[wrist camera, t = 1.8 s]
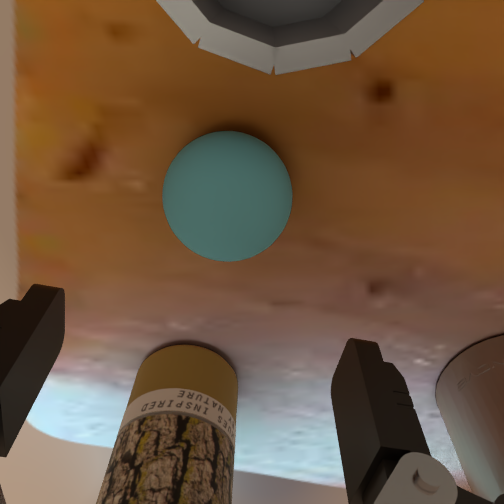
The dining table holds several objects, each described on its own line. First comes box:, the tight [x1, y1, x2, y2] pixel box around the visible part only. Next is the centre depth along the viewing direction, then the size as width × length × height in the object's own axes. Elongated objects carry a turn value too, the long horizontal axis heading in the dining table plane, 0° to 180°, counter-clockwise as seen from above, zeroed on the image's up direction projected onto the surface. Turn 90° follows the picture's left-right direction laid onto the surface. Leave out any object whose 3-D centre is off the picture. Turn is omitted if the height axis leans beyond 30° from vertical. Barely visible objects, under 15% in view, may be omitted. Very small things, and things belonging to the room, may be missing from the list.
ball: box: [162, 131, 292, 262], centre depth 22 cm, size 6×6×6 cm
